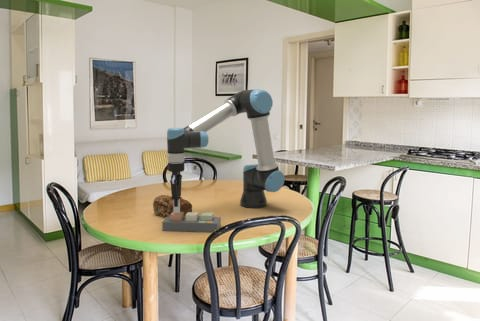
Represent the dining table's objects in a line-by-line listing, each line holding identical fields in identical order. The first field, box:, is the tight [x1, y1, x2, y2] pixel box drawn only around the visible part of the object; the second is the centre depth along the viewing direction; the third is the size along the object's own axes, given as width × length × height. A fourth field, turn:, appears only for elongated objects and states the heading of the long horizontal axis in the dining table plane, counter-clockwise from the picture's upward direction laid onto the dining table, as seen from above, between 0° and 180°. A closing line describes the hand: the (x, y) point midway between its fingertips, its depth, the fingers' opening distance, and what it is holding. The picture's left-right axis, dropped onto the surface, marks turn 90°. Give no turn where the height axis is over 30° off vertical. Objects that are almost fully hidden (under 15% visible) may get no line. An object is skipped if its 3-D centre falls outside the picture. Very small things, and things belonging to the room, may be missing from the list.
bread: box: [152, 194, 193, 219], centre depth 205 cm, size 19×11×10 cm, turn 52°
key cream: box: [185, 211, 199, 221], centre depth 185 cm, size 5×5×4 cm
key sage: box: [200, 212, 214, 222], centre depth 185 cm, size 5×5×4 cm
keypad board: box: [161, 215, 222, 233], centre depth 186 cm, size 25×11×4 cm, turn 85°
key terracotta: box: [170, 212, 184, 221], centre depth 186 cm, size 5×5×4 cm
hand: (176, 212), depth 186 cm, fingers closed
